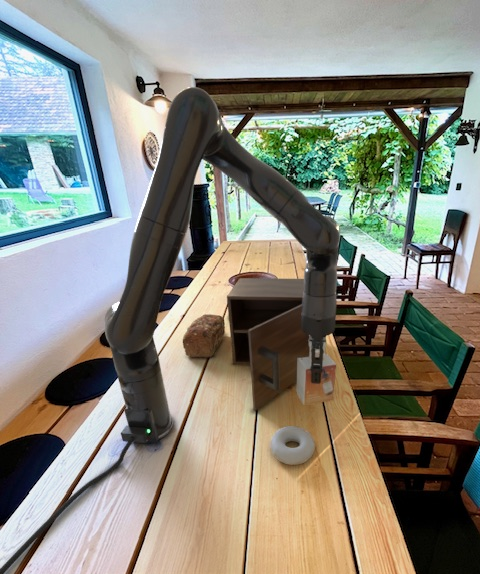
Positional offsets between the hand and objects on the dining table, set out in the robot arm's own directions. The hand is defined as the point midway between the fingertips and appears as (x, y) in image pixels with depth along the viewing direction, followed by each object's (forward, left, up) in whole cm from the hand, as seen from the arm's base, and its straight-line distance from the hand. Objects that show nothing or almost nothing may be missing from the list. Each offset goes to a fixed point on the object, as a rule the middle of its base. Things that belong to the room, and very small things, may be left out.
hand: (316, 373), depth 78 cm
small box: (0, 0, -7) cm, 7 cm away
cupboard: (+30, +14, -12) cm, 36 cm away
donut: (-13, +5, -13) cm, 19 cm away
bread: (+33, +40, -13) cm, 54 cm away
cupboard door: (+8, +6, -12) cm, 16 cm away
